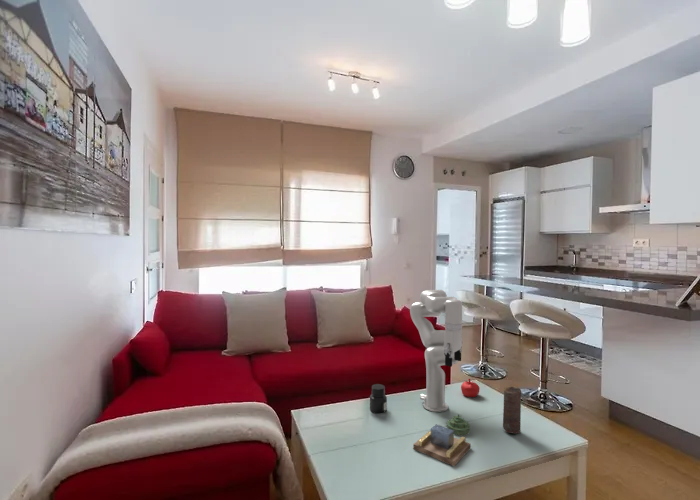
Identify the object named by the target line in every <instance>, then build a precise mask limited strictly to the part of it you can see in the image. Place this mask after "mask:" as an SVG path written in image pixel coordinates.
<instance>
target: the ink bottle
mask: <svg viewBox="0 0 700 500" xmlns="http://www.w3.org/2000/svg"><path fill="white" fill-rule="evenodd" d="M385 389H386V387H385V385H384V384H382V383H381V384H380V383H375V384H372V385H371V394H370V396H369V410H370V411H371V412H372V413H374V412H375V414H383V413H385V412H387V410H388V398H387V397H388V396H387V395H386V394H385V393H386V390H385Z"/></svg>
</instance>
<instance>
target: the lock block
mask: <svg viewBox="0 0 700 500" xmlns="http://www.w3.org/2000/svg"><path fill="white" fill-rule="evenodd" d="M430 430H431V443H432V444H435V445H437V446H440V447H442V448H445V449H447V450H449V449H450V448H451V447H452V446H453V445H454V438H455V434H454V430H451V429H448V428H447V427H446V426H442V425H440V424H434V425H433V426H432V427H431V428H430Z"/></svg>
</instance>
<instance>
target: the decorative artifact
mask: <svg viewBox="0 0 700 500" xmlns="http://www.w3.org/2000/svg"><path fill="white" fill-rule="evenodd" d="M470 426H471V425H470V424H469V422H467V420H466V419H465V418H464V417H462V416H460V415H459V414H457V415H455V416H453V417H451V419H448V420H447V422H446V428H448V429H451V430H454V436H455V435H456V436H466V435H468V434H470V431H471V428H470Z"/></svg>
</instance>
